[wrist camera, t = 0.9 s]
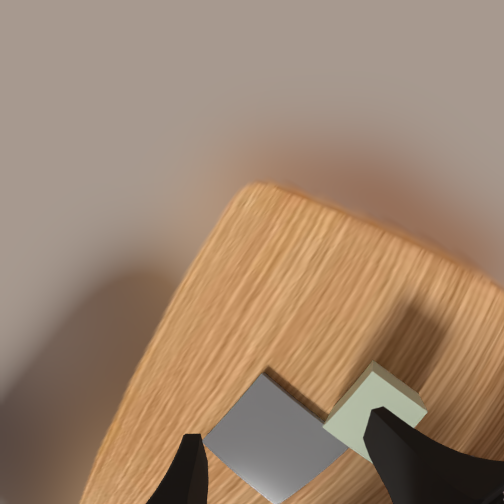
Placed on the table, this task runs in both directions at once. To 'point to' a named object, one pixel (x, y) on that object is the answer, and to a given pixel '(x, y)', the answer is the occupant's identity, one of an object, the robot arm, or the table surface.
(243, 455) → the coaster
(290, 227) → the table surface
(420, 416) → the cube
